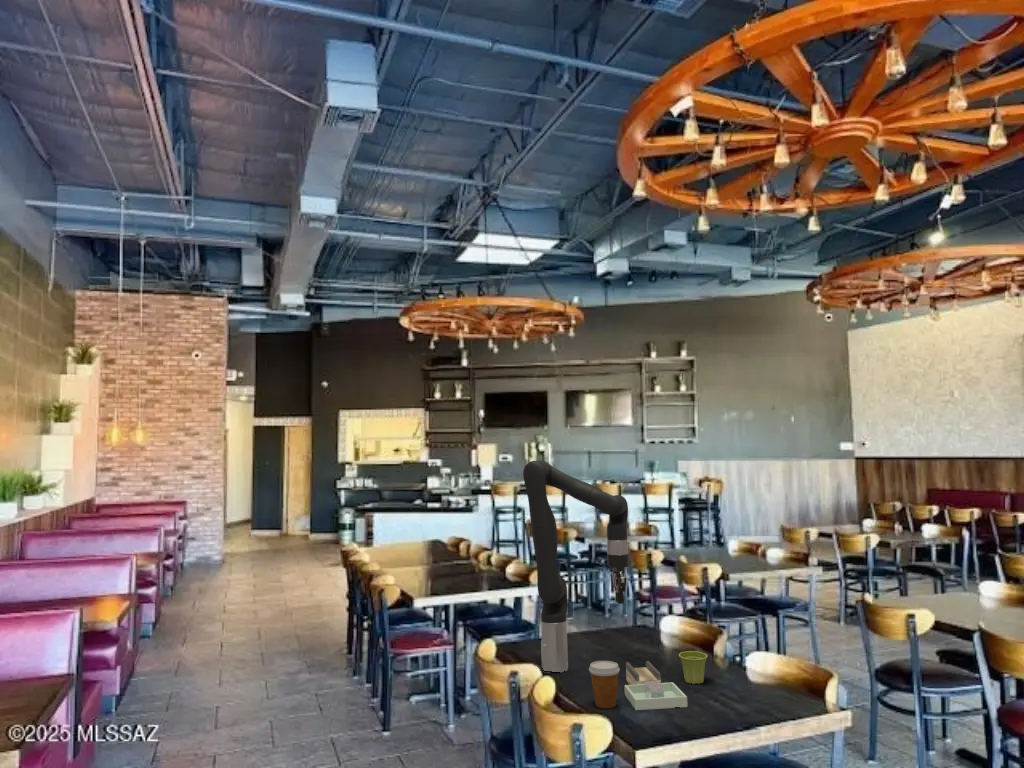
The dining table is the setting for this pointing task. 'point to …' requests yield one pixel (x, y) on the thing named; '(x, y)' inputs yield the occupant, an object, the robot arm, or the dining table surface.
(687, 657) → the plant pot
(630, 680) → the slot board
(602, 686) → the disposable coffee cup
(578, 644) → the dining table surface
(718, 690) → the dining table surface
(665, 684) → the tray
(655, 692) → the pale grey cube
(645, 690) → the light grey cube
